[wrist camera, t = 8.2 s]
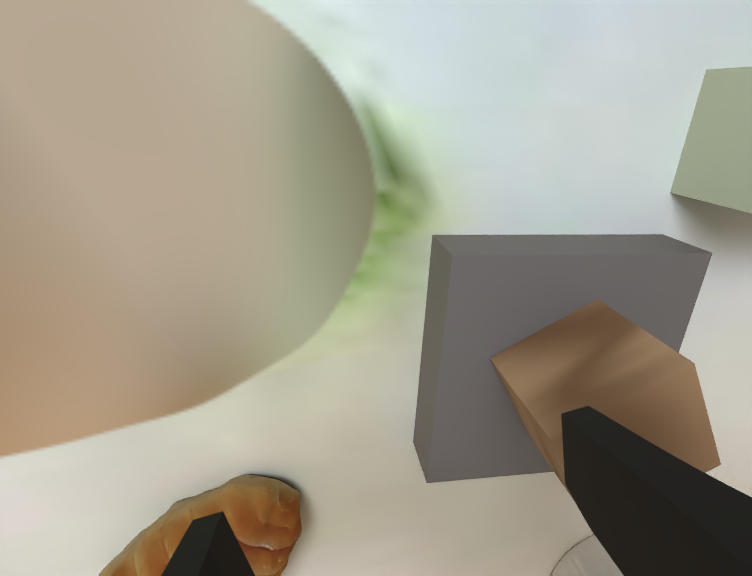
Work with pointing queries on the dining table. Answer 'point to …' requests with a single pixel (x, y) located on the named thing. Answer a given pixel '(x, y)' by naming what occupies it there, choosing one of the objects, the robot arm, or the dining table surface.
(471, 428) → the charcoal slab
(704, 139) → the sage green cube
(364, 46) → the dining table surface
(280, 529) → the pastry
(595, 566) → the ramekin
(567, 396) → the walnut cube
